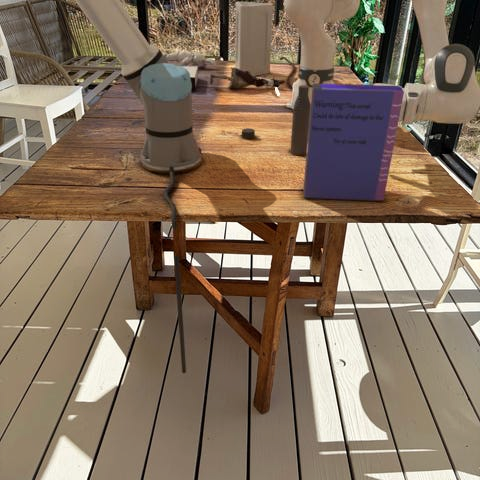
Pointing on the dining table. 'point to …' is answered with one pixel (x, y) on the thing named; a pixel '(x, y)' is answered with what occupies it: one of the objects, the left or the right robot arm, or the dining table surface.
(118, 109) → the dining table surface
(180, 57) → the toy
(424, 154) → the dining table surface
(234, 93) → the dining table surface
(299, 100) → the bottle
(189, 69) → the disc drive
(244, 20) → the paper bag
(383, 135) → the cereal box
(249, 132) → the cap
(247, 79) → the figurine
